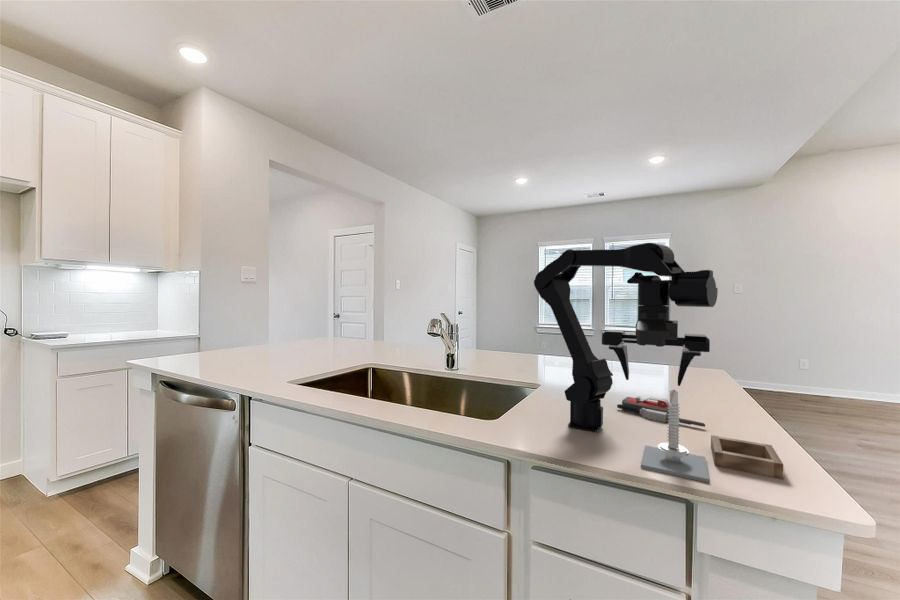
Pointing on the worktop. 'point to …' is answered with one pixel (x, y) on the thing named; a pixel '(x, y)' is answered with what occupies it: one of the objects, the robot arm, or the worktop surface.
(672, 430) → the screw
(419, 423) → the worktop surface
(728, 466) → the square wooden frame
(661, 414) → the walkie-talkie
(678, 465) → the mat
